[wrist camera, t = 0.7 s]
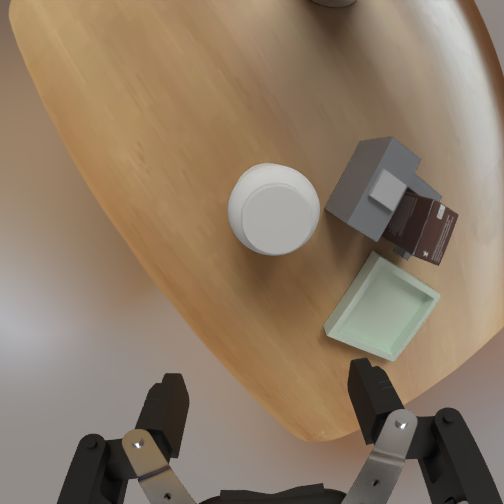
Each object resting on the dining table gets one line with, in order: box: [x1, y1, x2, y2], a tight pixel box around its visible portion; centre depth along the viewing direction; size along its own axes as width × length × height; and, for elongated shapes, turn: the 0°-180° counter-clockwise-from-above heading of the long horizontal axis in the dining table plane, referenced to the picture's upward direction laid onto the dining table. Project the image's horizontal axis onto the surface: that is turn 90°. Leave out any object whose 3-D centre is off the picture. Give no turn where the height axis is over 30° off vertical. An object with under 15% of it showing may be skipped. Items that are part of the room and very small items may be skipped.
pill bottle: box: [228, 163, 320, 256], centre depth 28 cm, size 8×8×15 cm
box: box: [381, 192, 458, 266], centre depth 30 cm, size 6×4×12 cm
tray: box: [323, 250, 441, 362], centre depth 39 cm, size 13×14×3 cm
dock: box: [324, 137, 442, 260], centre depth 30 cm, size 10×13×10 cm
